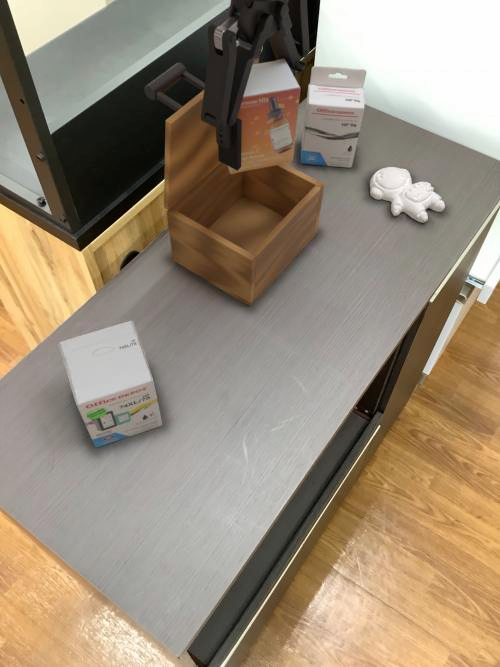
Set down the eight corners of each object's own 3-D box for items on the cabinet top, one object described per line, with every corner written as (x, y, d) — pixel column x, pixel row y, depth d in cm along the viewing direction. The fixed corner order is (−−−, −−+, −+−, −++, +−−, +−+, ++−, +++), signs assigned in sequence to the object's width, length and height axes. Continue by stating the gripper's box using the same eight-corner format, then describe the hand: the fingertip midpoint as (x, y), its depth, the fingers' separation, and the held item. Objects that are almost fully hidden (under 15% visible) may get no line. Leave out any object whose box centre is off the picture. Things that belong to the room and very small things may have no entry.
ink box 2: (299, 165, 101) (309, 85, 88) (300, 144, 103) (309, 64, 91) (352, 168, 101) (369, 89, 88) (352, 148, 103) (368, 68, 91)
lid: (260, 51, 75) (204, 17, 77) (171, 123, 68) (111, 84, 69) (245, 141, 88) (197, 110, 90) (168, 210, 81) (117, 175, 82)
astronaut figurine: (410, 232, 93) (415, 218, 91) (357, 185, 98) (361, 170, 96) (451, 208, 96) (457, 193, 94) (398, 163, 101) (402, 149, 99)
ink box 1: (94, 449, 74) (73, 405, 64) (78, 390, 78) (56, 340, 68) (164, 426, 75) (154, 379, 66) (144, 368, 80) (132, 317, 70)
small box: (230, 176, 74) (229, 99, 65) (217, 145, 77) (215, 67, 68) (294, 163, 75) (301, 86, 66) (279, 133, 78) (285, 56, 69)
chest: (316, 233, 93) (324, 183, 85) (250, 307, 85) (252, 260, 77) (242, 193, 97) (242, 142, 89) (172, 260, 89) (166, 211, 81)
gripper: (220, 6, 49) (224, 208, 68) (362, -96, 59) (331, 105, 78) (148, -25, 52) (171, 179, 70) (296, -118, 62) (282, 82, 80)
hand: (255, 140), depth 74 cm, fingers closed on small box, 9 cm apart
